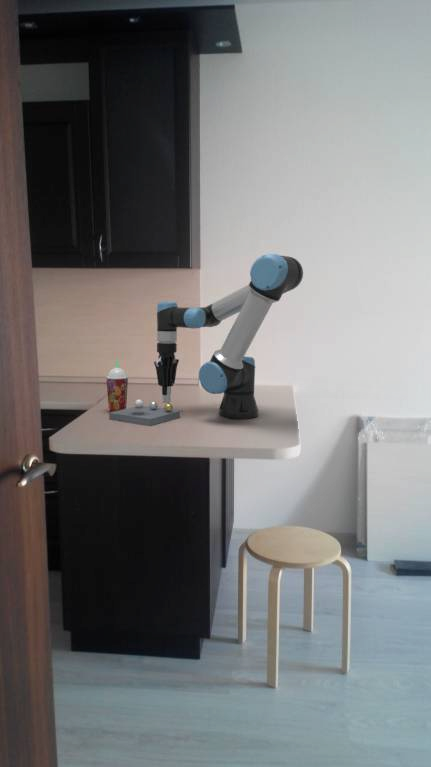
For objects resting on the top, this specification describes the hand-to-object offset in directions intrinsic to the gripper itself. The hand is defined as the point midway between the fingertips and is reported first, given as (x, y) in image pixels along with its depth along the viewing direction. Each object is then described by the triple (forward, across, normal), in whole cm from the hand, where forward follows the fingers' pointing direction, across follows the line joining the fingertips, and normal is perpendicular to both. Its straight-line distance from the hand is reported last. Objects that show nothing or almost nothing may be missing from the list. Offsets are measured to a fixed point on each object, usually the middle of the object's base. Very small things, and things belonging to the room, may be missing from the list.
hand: (166, 402), depth 229 cm
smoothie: (+4, +9, -17) cm, 20 cm away
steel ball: (0, +8, 0) cm, 8 cm away
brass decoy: (0, +8, +7) cm, 11 cm away
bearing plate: (+4, +13, 0) cm, 14 cm away
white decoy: (0, +8, -7) cm, 11 cm away
